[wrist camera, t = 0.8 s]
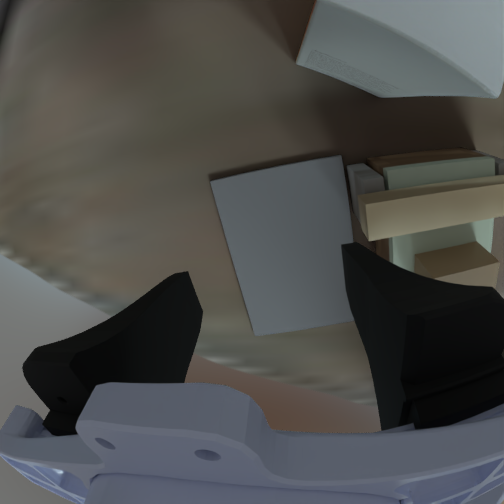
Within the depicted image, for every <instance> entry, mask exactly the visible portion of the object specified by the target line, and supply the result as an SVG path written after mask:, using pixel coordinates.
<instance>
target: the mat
mask: <svg viewBox="0 0 504 504" xmlns="http://www.w3.org/2000/svg"><path fill="white" fill-rule="evenodd" d="M210 183H211V187H212V191H213V194H214V198H215V201H216V205H217V208H218V212H219V215H220V219H221V222H222V226H223V229H224V233H225V236H226V240H227V243H228V247H229V250H230V254H231V257H232V260H233V264H234V267H235V271H236V274H237V277H238V281H239V284H240V288H241V291H242V294H243V298H244V301H245V304H246V308H247V311H248V314H249V318H250V321H251V324H252V327H253V331H254V334H255V336H260V335H267V334H275V333H282V332H289V331H296V330H302V329H309V328H315V327H321V326H327V325H333V324H338V323H344V322H349V321H355V320H354V318H353V315H352V312H351V310H350V306H349V302H348V297H347V293H346V289H345V278H344V268H343V259H342V250H341V245H342V244H348V243H353V234H352V226H351V217H350V209H349V202H348V194H347V187H346V181H345V174H344V168H343V162H342V156H341V155H336V156H330V157H324V158H318V159H312V160H306V161H301V162H296V163H290V164H285V165H280V166H275V167H270V168H265V169H260V170H255V171H251V172H246V173H241V174H237V175H232V176H228V177H224V178H219V179H215V180H211V181H210Z"/></svg>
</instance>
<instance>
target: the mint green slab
mask: <svg viewBox="0 0 504 504" xmlns="http://www.w3.org/2000/svg"><path fill="white" fill-rule="evenodd" d="M383 174H384V183H385V191H387V190H393V189H400V188H406V187H413V186H420V185H427V184H434V183H441V182H449V181H456V180H464V179H472V178H480V177H488V176H495V159H494V158H492V157H489V156H484V157H473V158H462V159H452V160H442V161H433V162H425V163H416V164H409V165H401V166H393V167H386V168H383ZM493 223H494V218H491V219H486V220H480V221H475V222H470V223H465V224H459V225H454V226H449V227H444V228H438V229H433V230H428V231H422V232H417V233H412V234H406V235H401V236H395V237H390V238H389V255H390V262H391V263H393V264H395V265H397V266H399V267H401V268H404V269H406V270H408V271H411V272H414V273H416V274H419V275H422V276H425V277H428V278H432V279H436V280H440V281H444V282H449V283H455V284H462V285H472V286H491V287H493V288H494V289H495V287H496V282H497V276H498V270H499V264H500V262H499V261H498V260H497V259H496V258H495V257H494V256H493V255H492V254H491V246H492V236H493Z"/></svg>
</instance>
